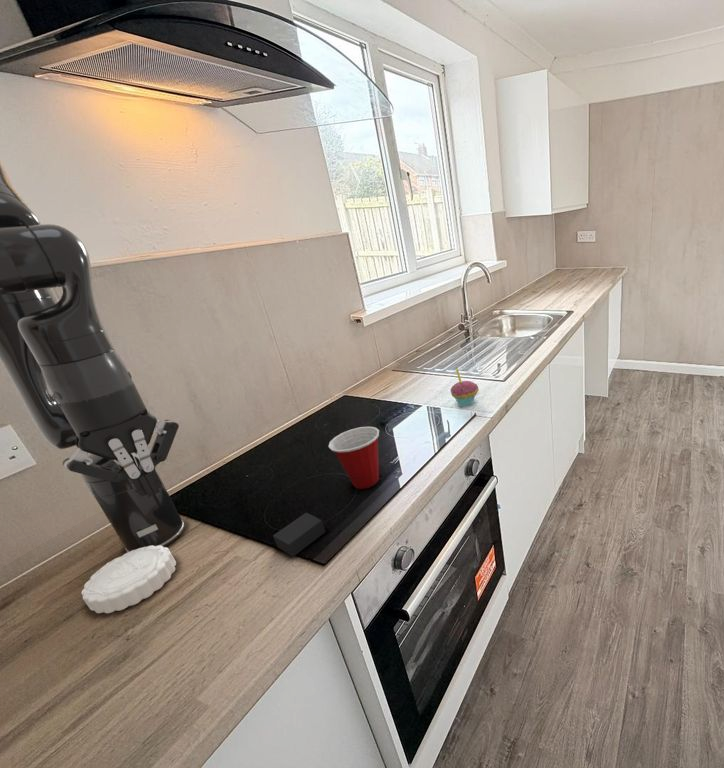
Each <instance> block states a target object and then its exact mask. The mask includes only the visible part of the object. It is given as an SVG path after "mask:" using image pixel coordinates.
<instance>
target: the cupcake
mask: <svg viewBox="0 0 724 768" xmlns="http://www.w3.org/2000/svg"><path fill="white" fill-rule="evenodd" d="M455 372H456V375H457V379H458V382H456V383H454V384H453V385H452V386H451V388H450V392H451V393H450V394H451V397H452V398H454V399H455V401H456V402H457V404H458V406H459V407H470V406H472V405H473V404H474V402H475V397H476V395H477V394H478V393H479V391H480V388H479V385H478V384H477V383H475V382H473V381H471V380H462V378H461V373H460V371H459V368H458V367H457V366H455Z"/></svg>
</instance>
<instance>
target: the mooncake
mask: <svg viewBox="0 0 724 768" xmlns="http://www.w3.org/2000/svg"><path fill="white" fill-rule="evenodd" d="M176 565H177V561H176V560H175V558H174V556H173V554H172V552H171V551H170V549H169V548H168V547H166V546H165V547H163V546H161V545H158V546H153V545H151V546H148V547H143V548H138V549H136V550H132V551H131V552H128V553H127V552H125V553H124V554H123V555H122V556H119V557H116V558H114V559H111V561H109V562H107V563H106V564H105V565H103V566H102V567H101V568H99V569H98V570H97V571H95V572H94V573H93V574H92V575H91V576H90V578H89V580H88V581H86V582H85V584H84V585H83V589H82V590H81V595H82V600H83V601H84V603H85V604H86V606H87V607H88V609H90V611H92V612H93V611H94V613H96V614H103V613H104V614H110V613H114V612H115V611H116V612H120V611H123V610H125V609H126V608H128V607H132V606H135V605H137V604H139V603H140V602H141V601H142V600H144V599H145V600H146V599H147V598H149V597H151V596H152V595H153V594H154V592H156V591H158V590H160V589H161V588H162V587H163V586H164V585H165V583H166V582H168V581H169V580H170V579H171V577H172V574H174V572H175V571H176V567H175V566H176Z"/></svg>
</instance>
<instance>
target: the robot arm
mask: <svg viewBox="0 0 724 768" xmlns="http://www.w3.org/2000/svg"><path fill="white" fill-rule="evenodd" d="M55 288H56V289H57V288H61V289H62V294H61V297H60V299H59V300H58V301H57V299H56V298H55V296H54V293H53V291H52V290H51V289H55ZM0 362H1V364H2V365H3V367H4V369H5V370H6V372H7V374H8V376H9V378H10V380H11V382H12V384H13V385H14V387H15V389H16V391H17V393H18V395H19V397H20V399H21V401H22V403H23V404H24V407H25V409H26V410H27V412H28V414H29V416H30V418H31V420H32V421H33V423H34V425H35V427H36V429H37V430H38V431H39V433H40V434H41V436H42V437H43V439H44V440H45V441H46V443H48V444H49V445H50V446H52V447H53V448H55V449H58V450H65V449H70V448H72V447H75V446H76V448H77V449H76V450H75V452H74V453H73V454H72V455H71V456H70V457H67V458H65V459H64V460H63V461H62V466H63V467H65V468H66V469H67V470H68V471H70V472H73V473H77V474H80V476H81V477H82V479H83V481H84V482H85V484H86V486H87V488H88V489H89V491H90V492H91V494H92V495H93V497H94V498H95V500H96V502H97V504H98V505H99V507H100V508H101V510H102V512H103V513H104V515H105V517H106V518H107V520H108V522H109V523H110V525H111V527H112V528H113V530H114V531H115V534H116V535H117V537H118V538H119V540H120V542H121V544H122V545H123V547H124V550H125V551H126V553H128V552H131V551H132V550H136V549H138V548H143V547H148V546H151V545H153V546H158V545H161V546H163V547H166V546H168V545H170V544H172V543H174V541H175V540H177V539H178V538H179V537H180V536H181V535H182V534H183V532H184V531H185V529H186V524H185V522H184V520H183V519H182V517H181V516H180V513H179V512H178V509H177V507H176V505H175V503H174V501H173V499H172V498H171V496H170V494H169V492H168V490H167V488H166V486H165V484H164V482H163V481H162V478H161V476H160V475H159V472H158V471H157V469H156V467H157V466H158V465H159V464H160V463H163V462H165V461H166V460H167V458H168V455H169V453H170V450H171V448H172V445H173V443H174V440H175V437H176V435H177V432H178V430H179V426H180V425H179V423H178V422H175V421H173V420H171V419H164V420H162V419H157V418H156V416H155V415H153V413H150V412H149V411H148V409H147V407H146V405H145V403H144V401H143V399H142V396H141V394H140V392H139V391H138V389H137V386H136V385H135V382H134V381H133V378H132V377H133V376H132V374H131V372H130V371H129V370H128V368H127V367H126V364H125V362H124V361H123V360H122V358H121V357H120V356H119V354H118V353H117V351H116V350H115V348H114V345H113V344H112V341H111V340H110V337H109V335H108V333H107V331H106V329H105V327H104V325H103V323H102V321H101V318H100V315H99V312H98V310H97V305H96V301H95V296H94V289H93V279H92V267H91V261H90V255H89V252H88V250H87V248H86V246H85V244H84V242H83V241H82V240H81V239H80V238H79V237H78V236H77V235H76V234H74V233H73V232H72V231H70V230H69V229H67V228H65V227H63V226H61V225H58V224H51V223H50V224H49V223H47V224H45V223H44V224H42V223H41V222H40V219H39V218H38V216H37V215H36V214H35V212H34V211H33V210H32V209H31V208H30V207H29V205H28V204H27V203H26V202H25V200H24V199H23V198H22V197H21V196H20V195H19V193H18V192H17V191H16V189H15V188H14V187H13V185H12V183H11V180H10V178H9V176H8V174H7V172H6V170H5V168H4V165H3V164H2V161H0ZM49 390H50V391H49ZM50 392H51V393H50ZM154 432H155V434H157V435H156V437H155V439H154V442H153V444H152V447H151V450H150V449H149V444H150V443H151V440H152V437H153V434H154Z"/></svg>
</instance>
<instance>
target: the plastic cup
mask: <svg viewBox="0 0 724 768" xmlns="http://www.w3.org/2000/svg"><path fill="white" fill-rule="evenodd" d="M379 436H380V430H379V429H378V428H377V427H376V426H375V427H374V426H360V427H356V428H352V429H349V430H346V431H344V432H341V433H339V434H338V435H336V436H334V437H333V438H332V439H331V440H330V441H329V443H328V448H329V449H330V450H331V452H333V453H334V455H335V456H336V458H338V460H339V462H340V464H341V466H342V468H343V470H344V472H345V474H346V475H347V476H348V478H349V480H350V482H351V484H352V486H354V488H355V489H359V490H364V489H369V488H371V487H374V486H375V485H376V484H378V481H380V470H379V469H380V462H379V461H380V460H379Z"/></svg>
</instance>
